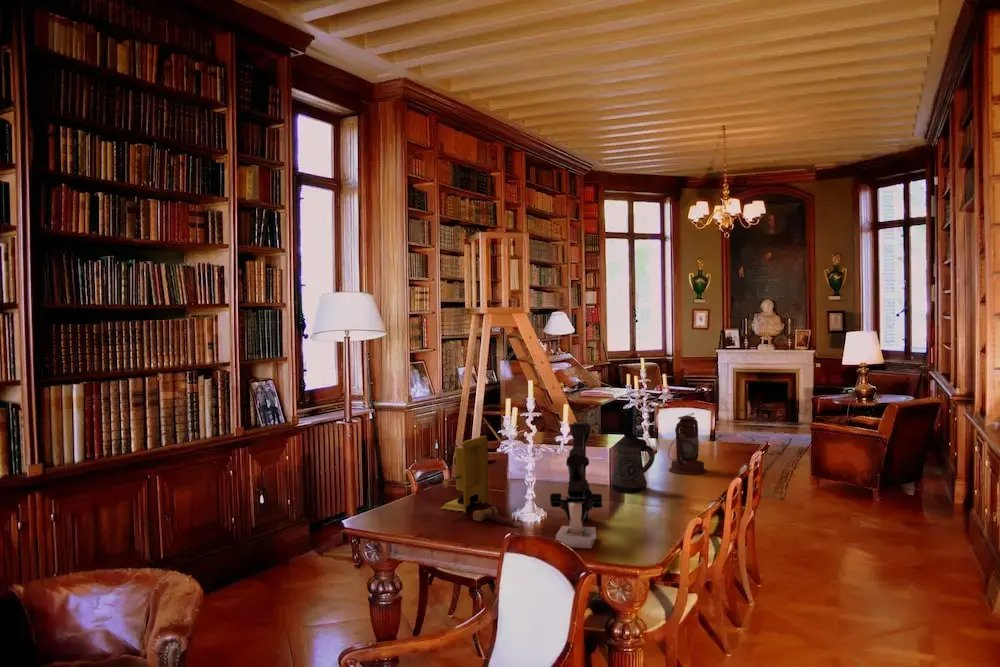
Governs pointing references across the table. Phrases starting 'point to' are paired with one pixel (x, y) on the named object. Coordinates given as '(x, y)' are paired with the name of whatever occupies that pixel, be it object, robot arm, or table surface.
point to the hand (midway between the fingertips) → (575, 521)
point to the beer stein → (631, 465)
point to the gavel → (492, 516)
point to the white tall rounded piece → (575, 518)
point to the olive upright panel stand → (470, 474)
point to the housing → (577, 537)
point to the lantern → (687, 448)
